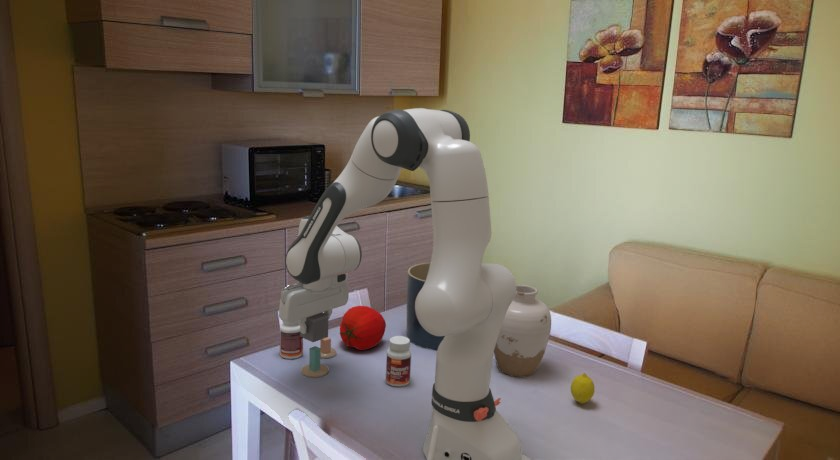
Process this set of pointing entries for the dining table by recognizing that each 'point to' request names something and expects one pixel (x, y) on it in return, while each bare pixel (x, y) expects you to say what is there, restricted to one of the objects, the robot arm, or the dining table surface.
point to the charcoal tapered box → (316, 327)
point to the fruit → (582, 388)
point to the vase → (523, 334)
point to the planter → (413, 327)
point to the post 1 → (314, 364)
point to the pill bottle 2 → (398, 361)
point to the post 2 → (327, 348)
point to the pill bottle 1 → (290, 340)
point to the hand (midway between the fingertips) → (314, 329)
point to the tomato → (362, 327)
